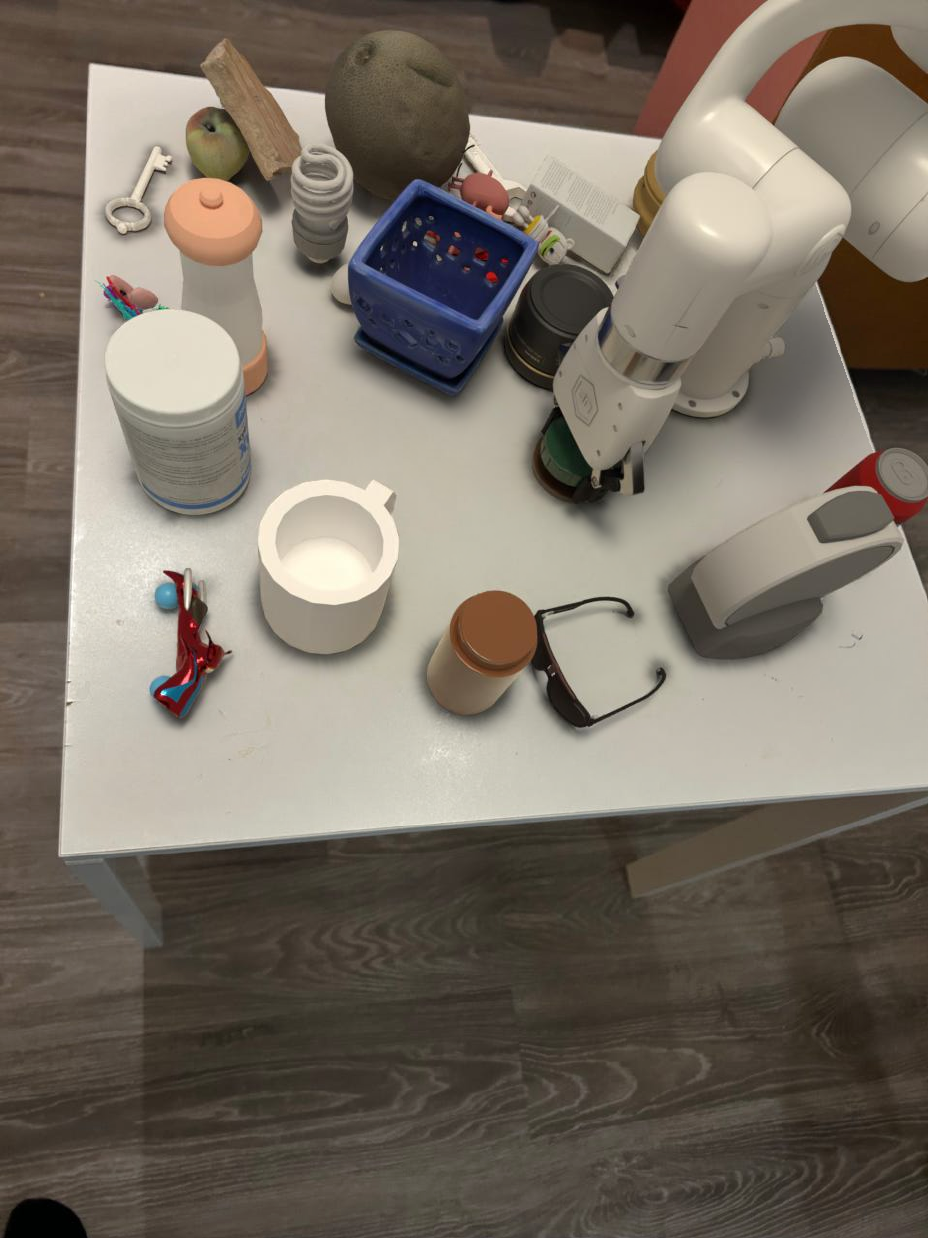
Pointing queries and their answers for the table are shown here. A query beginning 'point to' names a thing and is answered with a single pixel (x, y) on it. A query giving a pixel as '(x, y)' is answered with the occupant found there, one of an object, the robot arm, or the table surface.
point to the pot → (647, 197)
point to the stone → (252, 110)
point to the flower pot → (435, 285)
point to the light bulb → (321, 202)
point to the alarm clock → (782, 571)
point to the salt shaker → (221, 264)
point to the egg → (341, 285)
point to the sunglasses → (557, 684)
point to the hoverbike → (186, 644)
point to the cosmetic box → (581, 213)
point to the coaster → (550, 478)
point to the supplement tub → (181, 408)
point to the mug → (327, 563)
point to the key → (138, 194)
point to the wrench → (485, 166)
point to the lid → (563, 454)
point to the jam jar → (482, 652)
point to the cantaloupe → (396, 112)
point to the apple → (216, 143)
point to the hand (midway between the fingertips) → (571, 464)
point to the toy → (541, 233)
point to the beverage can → (892, 480)
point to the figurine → (480, 197)
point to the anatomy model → (129, 297)
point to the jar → (552, 318)
